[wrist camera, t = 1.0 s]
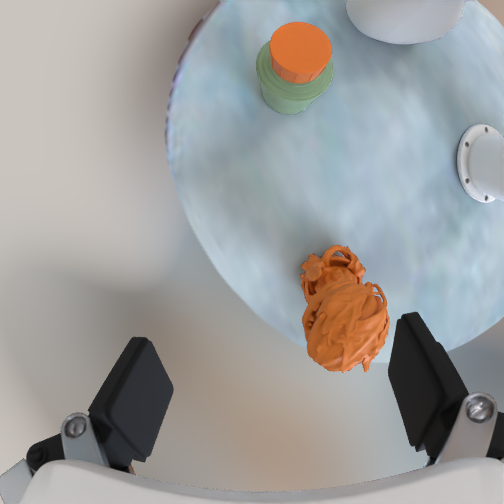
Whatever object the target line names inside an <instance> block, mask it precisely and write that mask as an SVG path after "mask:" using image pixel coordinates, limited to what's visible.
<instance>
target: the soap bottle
mask: <svg viewBox="0 0 504 504" xmlns="http://www.w3.org/2000/svg"><path fill="white" fill-rule="evenodd" d="M466 1H476V0H346V12H347V14H348V16H349V18H350V20H351V22H352V23H353V24H354V25H355V26H356V28H357V29H358V30H359V31H360V32H362V33H364V34H365V35H367V36H368V37H371V38H374V39H376V40H379V41H383V42H388V43H392V44H414V43H422V42H430V41H433V40H436V39H440V38H442V37H443V36H444V35H446V34H447V33H449V32H450V31H451V30H452V29H453V28H454V27H455V26H456V25H457V24H458V23H459V21H460V20H461V18H462V15H463V12H464V4H465V2H466Z"/></svg>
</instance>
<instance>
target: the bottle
mask: <svg viewBox="0 0 504 504" xmlns="http://www.w3.org/2000/svg"><path fill="white" fill-rule="evenodd" d="M270 41H271V40H270ZM270 41H269V42H267V43H266V44H265V45H264V46H263V48H262V49H261V50H260V52H259V54H258V57H257V61H256V70H257V75H258V78H259V82H260V86H261V90H262V94H263V97H264V100H265V102H266V103H267V105H268V106H269V107H270V108H272V109H273V110H274V111H276V112H279V113H281V114H296V113H299V112H301V111H303V110H304V109H306V108H307V107H308V106H309V105H310V104H311V103H312V102H313V101H314V100H316V99H317V98H318V97H319V96H320V95H321V94H322V93H323V92H324V91H325V90H326V89H327V88H328V87H329V85H330V83H331V81H332V78H333V63H332V60H331V58H330V60H329V62H328V63H327V65H326V66H325V67H326V68H325V69H324V70H323V72H322V73H321V74H320V75H319V76H317V77H316V78H315V79H314V80H312V81H310V82H307V83H291V82H288V81H286V80H284V79H282V78H280V77H279V76H278V75H277V74H276V72H275V71H274V70H273V68H272V65H271V59H270V50H269V44H270Z"/></svg>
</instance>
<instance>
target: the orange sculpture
mask: <svg viewBox="0 0 504 504" xmlns="http://www.w3.org/2000/svg"><path fill="white" fill-rule="evenodd" d="M336 251H339V252H341V253H342V254H343V255H344V256H345V257H346V258H345V257H341V256H337V255H332V254H333V253H334V252H336ZM350 256H351V257H350ZM308 257H310V258H309V260H308V262H305V261H304V262H305V263H304V264H301V267H302V269H304V270H305V271H306V272H305V273H304V274H301V275H300V277H301V281H302V285H301V287H302V289H303V292H304V295H305V299H306V301H307V303H308V306H307V308H306V310H305V312H304V315H303V317H302V323H303V327H304V330H305V338H306V340H307V342H308V343H307V351H308V355H309V356H310V357H311V358H312V359H313V360H314V361H315V362H317V363H318V364H319V365H322V366H323V367H324V368H325V369H327V370H329V371H342V373H344V372H345V371H346V370H347V371H350V370H351V369H352V368H353V367H354V366H356V365H357V364H359V363H362V365H363V368H364V372H367V371H368V369H369V364H370V362H371V361H372V360H373V359H374V358H375V356H376V355H377V354H378V353H379V350H380V349H381V348H382V347H383V346H384V344H385V339H386V337H387V335H388V329H389V323H390V322H389V316H388V313H387V309H386V307H387V300H386V298H385V296H384V293H383V292H382V290H381V288H380V287H379V286H378V285H377V284H372V283H370V282H367V283H366V284H365V285H363V284H362V277H363V275H364V273H365V268H364V267H363V266H362V264H361V263H359V259H358V257H357V256H356V255H355V254H353V253H352V252H351V251H350V249H349V248H348V246H347V247H346V249H345V247H342V246H340V245H334V246H332V247H330V248H329V249H328V250H327V251H326V252H325V253H324V255H323V256H322V257H320V258H319V257H317V256H315V255H314V254H311V255H309V256H308ZM373 287H376V288H377V290H378V292H373ZM374 294H376V295H378V294H380V295H381V297H382V299H383V303H382V302H381V298H380V297H378V296H374ZM385 321H386V324H385Z"/></svg>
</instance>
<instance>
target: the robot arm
mask: <svg viewBox="0 0 504 504" xmlns="http://www.w3.org/2000/svg"><path fill="white" fill-rule="evenodd" d="M457 166H458V173H459V178H460V180H461V183H462V185H463V187H464V189H465V191H466V192H467V193H468V195H469V196H471V197H472V198H473V199H475V200H477V201H479V202H482V203H488V202H492V201H494V200H495V199H499V200H501V201H503V202H504V137H503V136H501V135H500V134H499V133H498V132H497V131H496V130H495V129H494V128H492V127H490V126H488V125H483V124H478V125H474V126H472V127H470V128H469V129H468V130H467V131H466V132H465V133H464V135H463V137H462V139H461V141H460V144H459V148H458V154H457ZM388 376H389V380H390V382H391V385H392V388H393V391H394V394H395V397H396V400H397V403H398V406H399V410H400V413H401V416H402V419H403V422H404V426H405V429H406V432H407V436H408V440H409V443H410V445H411V446H415V449H416V452H419V451H422V450H425V449H426V452H427V455H428V456H429V457H428V459H427V461H426V463H425V464H424V466H423V468H421V469H417V470H413V471H410V472H406V473H403V474H399V475H396V476H391V477H387V478H382V479H378V480H373V481H368V482H364V483H358V484H353V485H346V486H340V487H333V488H324V489H315V490H301V491H281V492H252V491H230V490H218V489H208V488H200V487H192V486H186V485H180V484H174V483H168V482H163V481H159V480H154V479H149V478H145V477H141V476H137V475H136V474H135V472H134V470H133V467H132V465H131V461H132V459H133V460H136V461H141V462H145V461H146V458H147V457H149V456H150V455H151V452H152V449H153V447H154V444H155V441H156V438H157V435H158V433H159V430H160V427H161V424H162V421H163V419H164V416H165V413H166V411H167V408H168V405H169V402H170V400H171V397H172V394H173V385H172V383H171V381H170V379H169V377H168V375H167V373H166V371H165V369H164V367H163V365H162V363H161V361H160V358H159V357H158V354H157V352H156V350H155V348H154V346H153V344H152V342H151V341H149V340H148V339H147V338H146V337H133V338H131V340H130V341H129V343H128V344H127V346H126V347H125V349H124V351H123V352H122V354H121V355H120V357H119V359H118V360H117V362H116V363H115V365H114V367H113V368H112V370H111V372H110V373H109V375H108V377H107V378H106V380H105V382H104V383H103V385H102V387H101V388H100V390H99V392H98V394H97V395H96V397H95V399H94V400H93V402H92V404H91V406H90V407H89V409H88V411H89V415H88V416H87V415H86V414H84V413H73V414H71V415H69V416H68V417H67V418H66V419H65V420H64V421H63V423H62V426H61V433H60V434H57V435H55V436H53V437H50V438H48V439H45V440H43V441H41V442H38V443H36V444H34V445H32V446H31V447H30V448H29V450H28V453H27V456H26V460H25V459H24V458H23V459H22V460H21V461H19V462H18V463H17V464H16V465H14V466H13V467H12V468H10V469H9V470H8V471H6V472H5V473H4V474H2V475H1V476H0V495H1V498H2V500H3V502H4V504H504V413H501V412H498V406H497V403H496V401H495V399H494V398H493V397H492V396H491V395H490V394H487V393H485V392H474V393H472V394H469V393H468V391H467V389H466V387H465V385H464V383H463V381H462V379H461V377H460V376H459V374H458V372H457V370H456V368H455V367H454V365H453V363H452V362H451V360H450V358H449V356H448V354H447V353H446V351H445V349H444V348H443V346H442V345H441V344H440V343H439V342H436V341H435V339H434V337H433V336H432V334H431V332H430V331H429V329H428V328H427V326H426V324H425V323H424V321H423V320H422V318H421V317H420V315H419V314H418V312H412V313H407V314H403V315H402V316H401V319H398V320H397V324H396V331H395V337H394V342H393V348H392V353H391V358H390V363H389V368H388Z"/></svg>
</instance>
